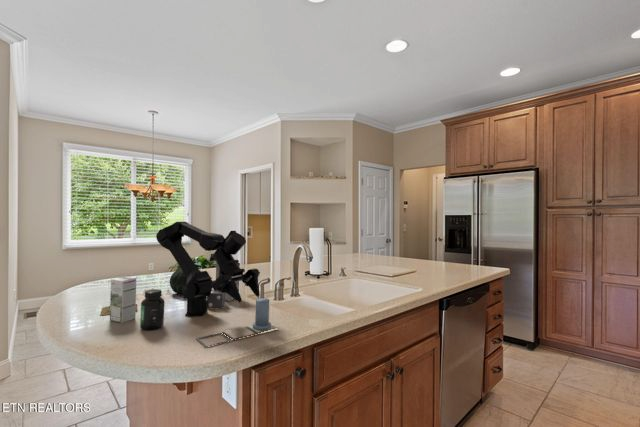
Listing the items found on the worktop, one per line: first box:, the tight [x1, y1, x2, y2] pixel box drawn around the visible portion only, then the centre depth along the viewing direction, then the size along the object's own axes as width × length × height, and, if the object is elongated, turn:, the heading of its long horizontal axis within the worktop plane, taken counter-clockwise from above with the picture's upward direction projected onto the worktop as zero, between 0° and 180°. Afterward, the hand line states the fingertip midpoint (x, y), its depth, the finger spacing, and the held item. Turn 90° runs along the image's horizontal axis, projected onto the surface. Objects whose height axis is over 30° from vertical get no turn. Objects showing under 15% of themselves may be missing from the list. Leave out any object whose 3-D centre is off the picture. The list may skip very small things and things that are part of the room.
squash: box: [169, 267, 201, 295], centre depth 151 cm, size 14×15×15 cm
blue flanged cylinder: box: [252, 297, 272, 330], centre depth 107 cm, size 6×6×9 cm
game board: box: [195, 324, 277, 348], centre depth 101 cm, size 24×8×1 cm, turn 131°
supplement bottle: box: [139, 289, 165, 332], centre depth 105 cm, size 7×7×12 cm
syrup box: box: [109, 276, 137, 324], centre depth 112 cm, size 6×6×14 cm
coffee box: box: [215, 262, 241, 302], centre depth 145 cm, size 9×6×16 cm
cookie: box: [99, 304, 138, 317], centre depth 123 cm, size 12×12×1 cm
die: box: [206, 289, 226, 309], centre depth 131 cm, size 6×6×6 cm
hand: (249, 298), depth 109 cm, fingers open, 9 cm apart
